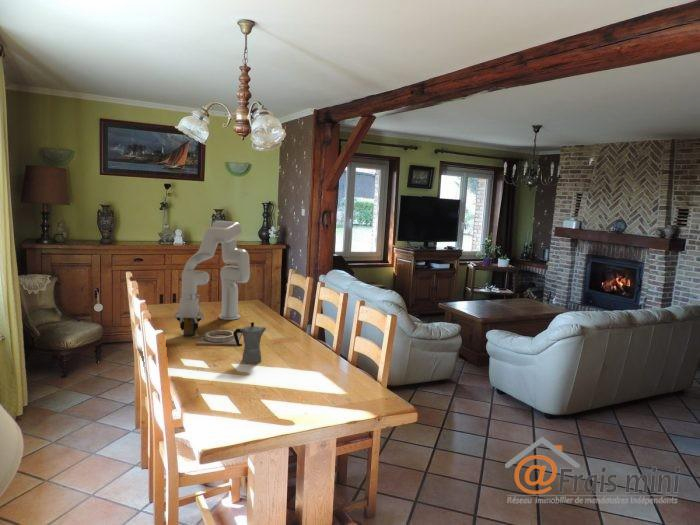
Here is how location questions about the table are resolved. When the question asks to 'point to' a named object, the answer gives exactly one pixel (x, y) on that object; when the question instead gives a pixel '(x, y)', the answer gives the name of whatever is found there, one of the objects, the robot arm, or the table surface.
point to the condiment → (189, 328)
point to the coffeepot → (250, 342)
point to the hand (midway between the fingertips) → (189, 329)
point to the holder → (218, 338)
